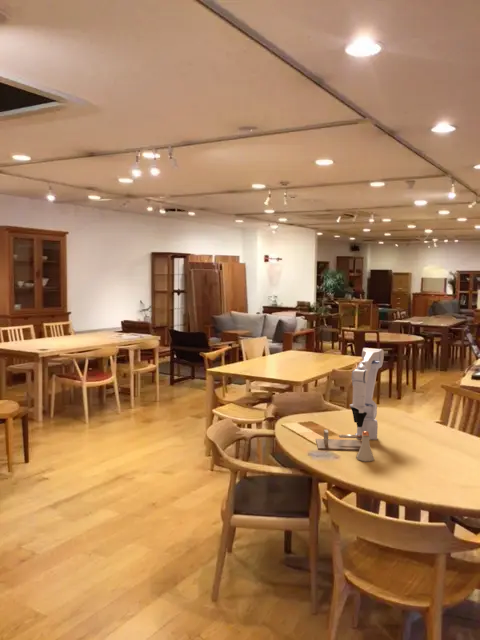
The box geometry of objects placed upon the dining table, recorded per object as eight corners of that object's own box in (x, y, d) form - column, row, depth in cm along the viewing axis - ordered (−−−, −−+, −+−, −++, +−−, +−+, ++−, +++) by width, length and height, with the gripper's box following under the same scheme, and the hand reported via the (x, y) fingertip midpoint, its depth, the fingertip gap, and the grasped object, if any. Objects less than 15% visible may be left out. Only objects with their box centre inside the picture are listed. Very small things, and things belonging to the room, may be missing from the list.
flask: (363, 463, 242) (364, 439, 241) (353, 457, 249) (353, 435, 248) (377, 460, 246) (378, 437, 245) (366, 455, 252) (367, 433, 251)
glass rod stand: (366, 440, 267) (367, 430, 267) (368, 443, 262) (369, 433, 262) (338, 439, 268) (338, 429, 267) (339, 443, 263) (339, 432, 262)
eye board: (362, 441, 272) (363, 427, 271) (367, 451, 258) (368, 436, 257) (315, 440, 273) (316, 426, 272) (318, 449, 259) (318, 435, 258)
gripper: (347, 391, 273) (346, 420, 274) (352, 398, 259) (351, 428, 260) (362, 392, 273) (361, 420, 274) (368, 399, 258) (367, 429, 260)
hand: (358, 424), depth 267 cm, fingers open, 7 cm apart
